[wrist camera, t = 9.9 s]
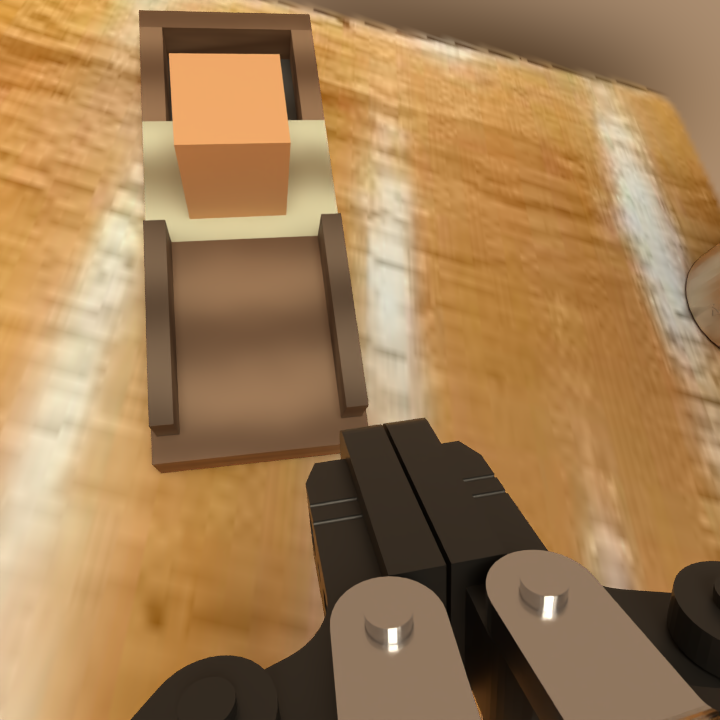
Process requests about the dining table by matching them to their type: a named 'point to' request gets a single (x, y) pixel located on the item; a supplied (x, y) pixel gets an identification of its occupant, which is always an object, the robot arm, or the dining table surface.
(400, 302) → the dining table surface
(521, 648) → the robot arm
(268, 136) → the block
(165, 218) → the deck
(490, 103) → the dining table surface
